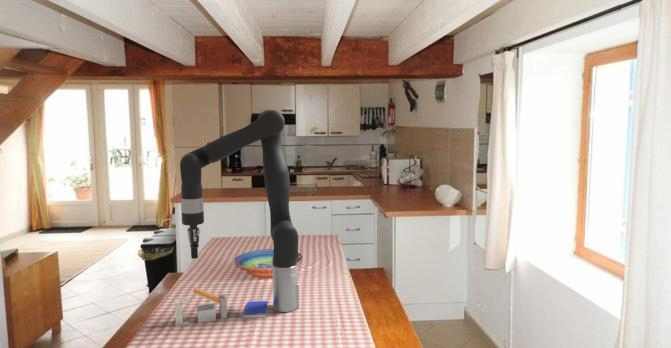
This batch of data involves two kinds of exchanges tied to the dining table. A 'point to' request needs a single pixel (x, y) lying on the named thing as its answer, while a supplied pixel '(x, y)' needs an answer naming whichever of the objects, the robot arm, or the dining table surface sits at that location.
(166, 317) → the dining table surface
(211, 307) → the heatsink
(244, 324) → the dining table surface
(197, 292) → the orange bar
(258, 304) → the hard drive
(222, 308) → the board
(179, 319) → the block
